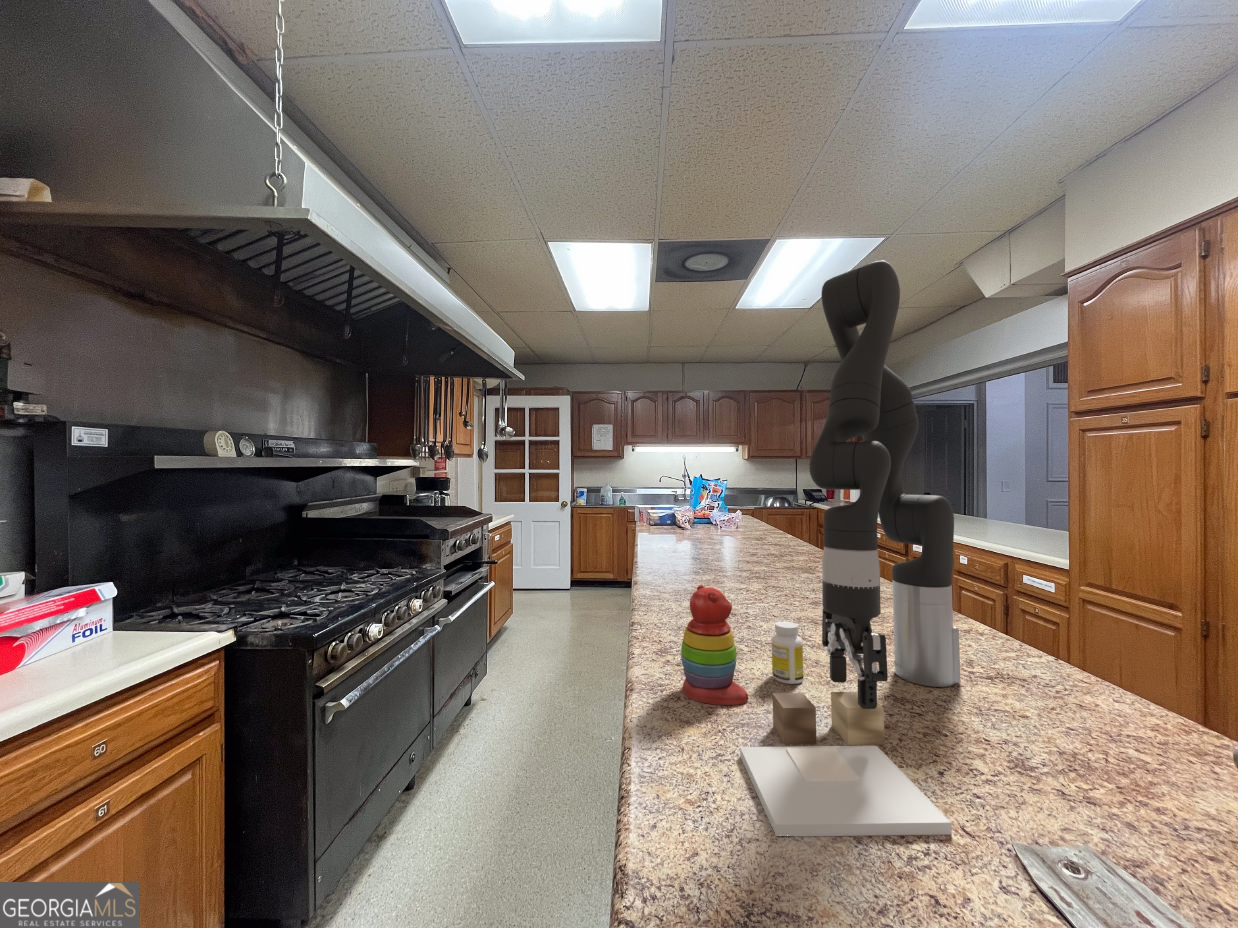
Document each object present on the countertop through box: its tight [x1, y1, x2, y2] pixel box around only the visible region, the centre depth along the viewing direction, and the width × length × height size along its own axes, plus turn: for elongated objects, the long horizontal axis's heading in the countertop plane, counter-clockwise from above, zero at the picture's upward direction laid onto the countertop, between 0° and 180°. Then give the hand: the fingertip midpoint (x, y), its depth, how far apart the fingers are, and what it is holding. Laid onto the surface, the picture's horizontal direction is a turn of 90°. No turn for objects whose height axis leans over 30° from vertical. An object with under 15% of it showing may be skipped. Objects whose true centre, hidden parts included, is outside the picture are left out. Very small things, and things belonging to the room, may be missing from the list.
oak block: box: [830, 691, 885, 746], centre depth 67 cm, size 5×5×5 cm
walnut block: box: [771, 692, 817, 745], centre depth 67 cm, size 4×4×5 cm
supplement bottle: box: [771, 621, 805, 685], centre depth 86 cm, size 5×5×10 cm
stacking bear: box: [680, 584, 749, 706], centre depth 81 cm, size 11×10×18 cm
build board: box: [739, 745, 953, 837], centre depth 55 cm, size 18×14×1 cm
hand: (851, 693), depth 67 cm, fingers open, 8 cm apart
